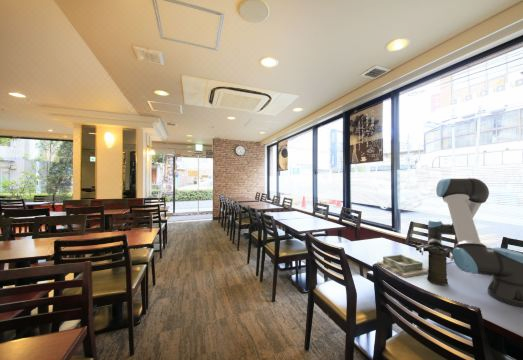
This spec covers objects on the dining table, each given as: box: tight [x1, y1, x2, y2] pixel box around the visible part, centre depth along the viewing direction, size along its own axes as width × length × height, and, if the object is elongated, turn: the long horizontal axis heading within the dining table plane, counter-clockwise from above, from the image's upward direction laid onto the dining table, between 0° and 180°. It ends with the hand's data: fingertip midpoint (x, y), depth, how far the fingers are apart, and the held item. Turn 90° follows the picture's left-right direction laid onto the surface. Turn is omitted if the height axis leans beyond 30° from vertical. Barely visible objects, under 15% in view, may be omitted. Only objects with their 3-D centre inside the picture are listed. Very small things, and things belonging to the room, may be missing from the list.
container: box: [426, 248, 449, 286], centre depth 118 cm, size 9×9×18 cm
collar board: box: [376, 253, 428, 278], centre depth 136 cm, size 20×20×6 cm
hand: (436, 255), depth 126 cm, fingers open, 13 cm apart
